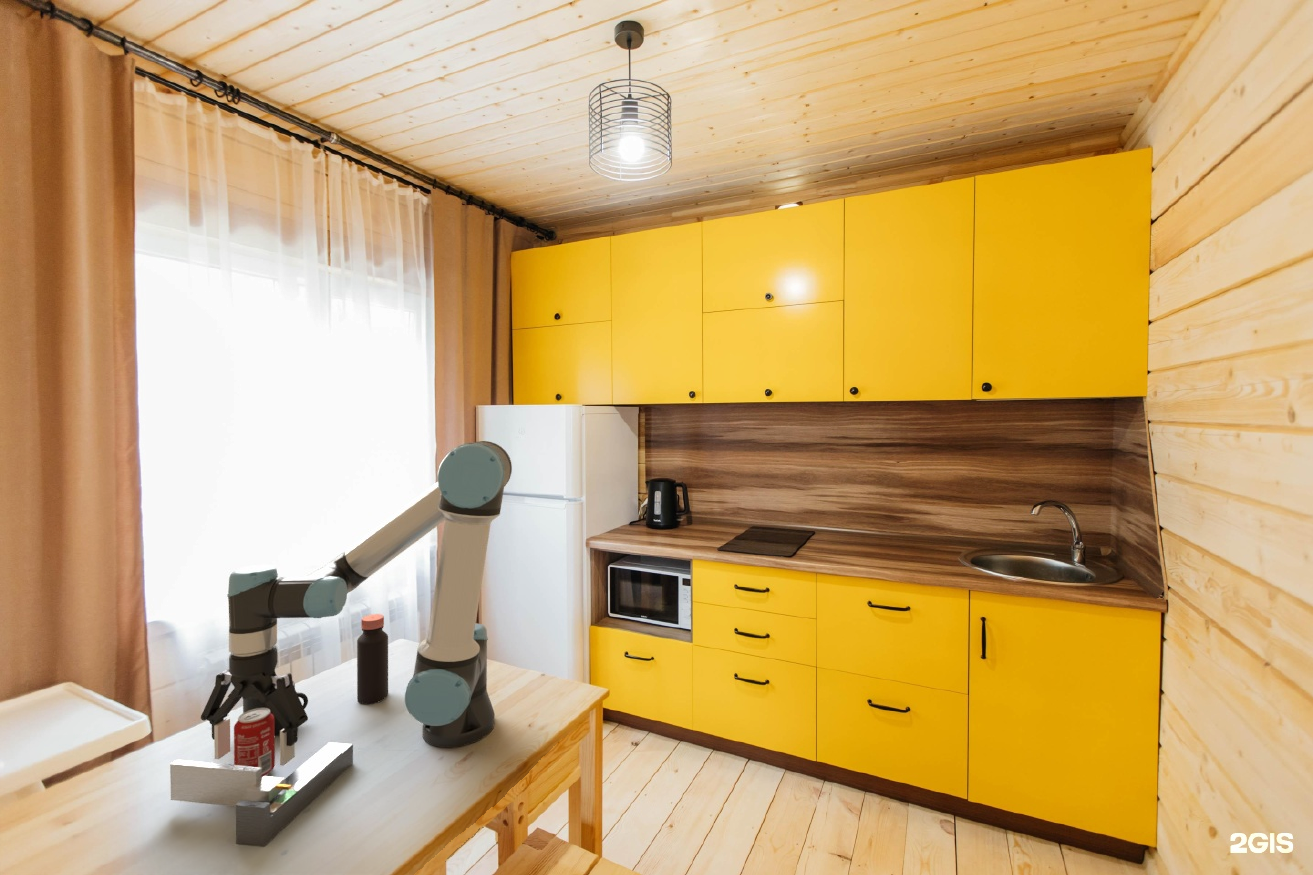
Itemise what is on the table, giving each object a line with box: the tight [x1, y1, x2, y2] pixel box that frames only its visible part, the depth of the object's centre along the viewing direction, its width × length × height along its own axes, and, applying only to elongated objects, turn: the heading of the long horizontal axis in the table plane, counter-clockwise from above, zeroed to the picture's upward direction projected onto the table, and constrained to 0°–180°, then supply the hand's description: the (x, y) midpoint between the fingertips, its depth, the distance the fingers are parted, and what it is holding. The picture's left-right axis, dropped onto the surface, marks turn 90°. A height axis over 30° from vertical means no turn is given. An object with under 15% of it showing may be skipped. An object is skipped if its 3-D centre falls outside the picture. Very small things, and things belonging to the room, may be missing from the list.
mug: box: [242, 679, 309, 736], centre depth 125 cm, size 9×12×9 cm
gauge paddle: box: [169, 759, 292, 807], centre depth 97 cm, size 22×4×6 cm, turn 84°
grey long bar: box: [235, 741, 354, 848], centre depth 102 cm, size 5×22×6 cm, turn 174°
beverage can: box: [233, 708, 276, 777], centre depth 108 cm, size 6×6×12 cm
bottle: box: [356, 613, 389, 705], centre depth 138 cm, size 7×7×20 cm
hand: (254, 758), depth 108 cm, fingers open, 13 cm apart
